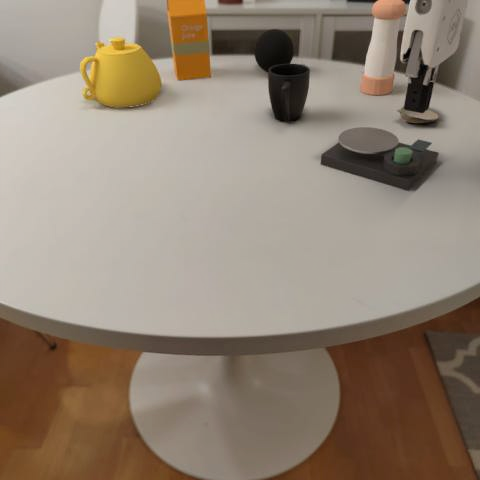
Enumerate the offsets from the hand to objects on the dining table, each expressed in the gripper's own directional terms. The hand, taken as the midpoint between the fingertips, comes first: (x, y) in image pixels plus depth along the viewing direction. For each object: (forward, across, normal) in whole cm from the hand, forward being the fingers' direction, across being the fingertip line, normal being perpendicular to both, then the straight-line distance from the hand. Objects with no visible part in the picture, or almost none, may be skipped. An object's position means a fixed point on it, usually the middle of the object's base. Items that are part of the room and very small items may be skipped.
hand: (415, 109), depth 68 cm
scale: (+11, +2, +5) cm, 12 cm away
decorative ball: (+11, +34, +50) cm, 62 cm away
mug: (+11, +9, +29) cm, 32 cm away
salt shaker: (+12, +36, +22) cm, 44 cm away
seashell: (+12, +23, +7) cm, 27 cm away
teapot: (+10, -1, +70) cm, 71 cm away
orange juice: (+11, +21, +67) cm, 71 cm away
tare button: (+8, -1, 0) cm, 8 cm away
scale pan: (+7, +2, +6) cm, 10 cm away
